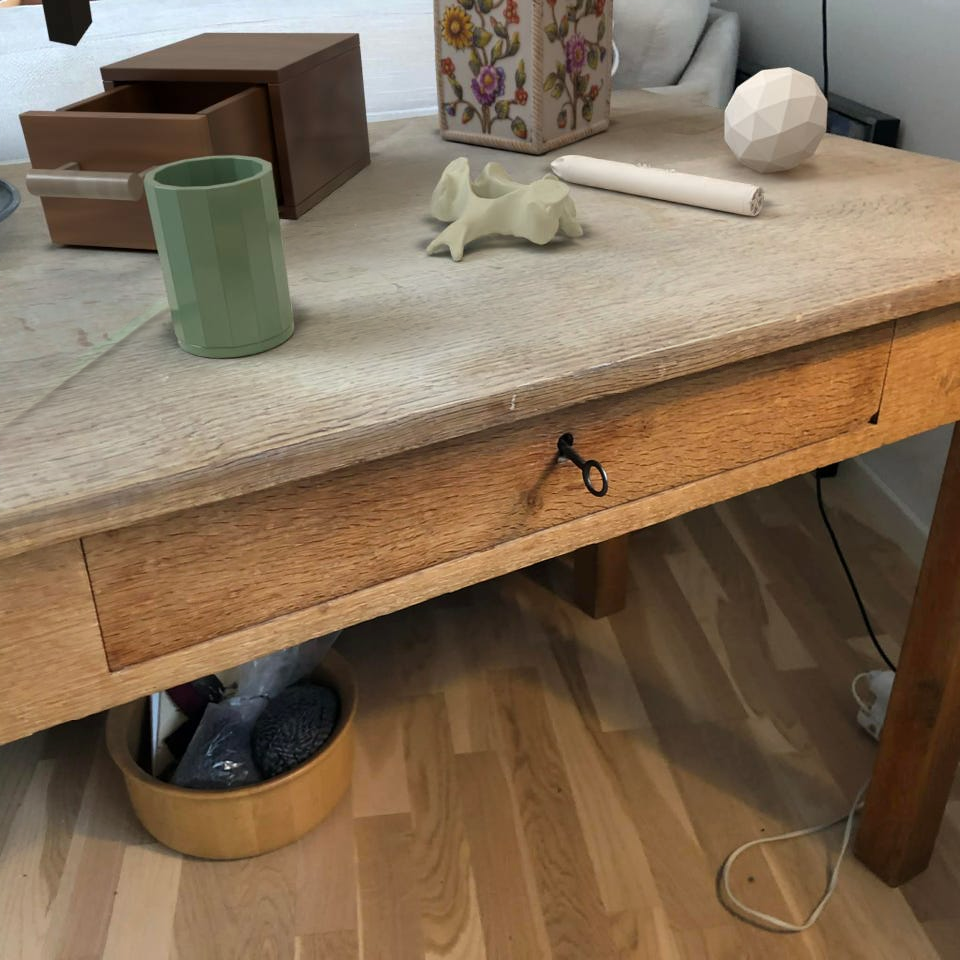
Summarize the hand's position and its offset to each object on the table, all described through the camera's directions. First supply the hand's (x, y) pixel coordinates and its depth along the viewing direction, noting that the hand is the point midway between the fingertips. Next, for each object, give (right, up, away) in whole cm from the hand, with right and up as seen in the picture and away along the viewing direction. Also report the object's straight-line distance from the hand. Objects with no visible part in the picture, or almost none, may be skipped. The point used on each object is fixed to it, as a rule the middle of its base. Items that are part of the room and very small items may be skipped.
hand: (71, 30), depth 58 cm
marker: (+36, -4, +19) cm, 40 cm away
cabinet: (+5, -1, +25) cm, 25 cm away
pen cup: (+10, -17, -1) cm, 20 cm away
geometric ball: (+46, -1, +24) cm, 52 cm away
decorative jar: (+27, +6, +36) cm, 46 cm away
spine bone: (+24, -9, +12) cm, 28 cm away
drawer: (+2, -8, +14) cm, 16 cm away
